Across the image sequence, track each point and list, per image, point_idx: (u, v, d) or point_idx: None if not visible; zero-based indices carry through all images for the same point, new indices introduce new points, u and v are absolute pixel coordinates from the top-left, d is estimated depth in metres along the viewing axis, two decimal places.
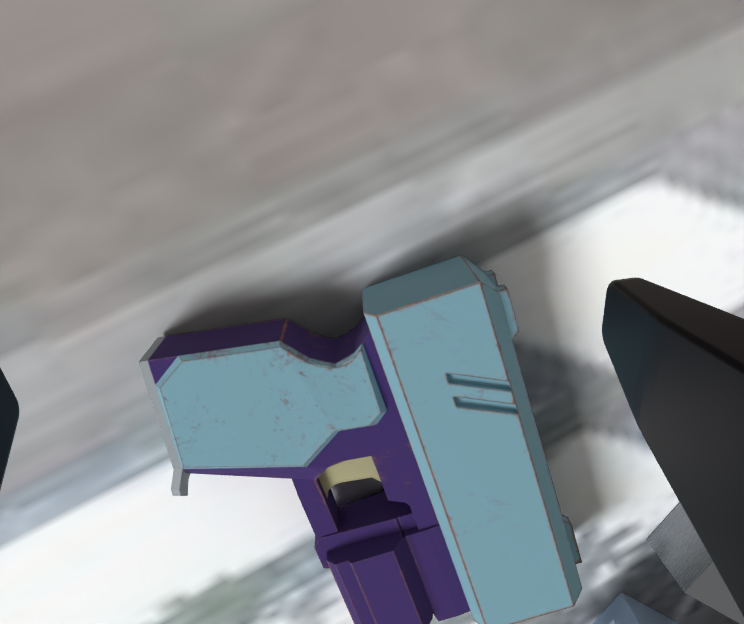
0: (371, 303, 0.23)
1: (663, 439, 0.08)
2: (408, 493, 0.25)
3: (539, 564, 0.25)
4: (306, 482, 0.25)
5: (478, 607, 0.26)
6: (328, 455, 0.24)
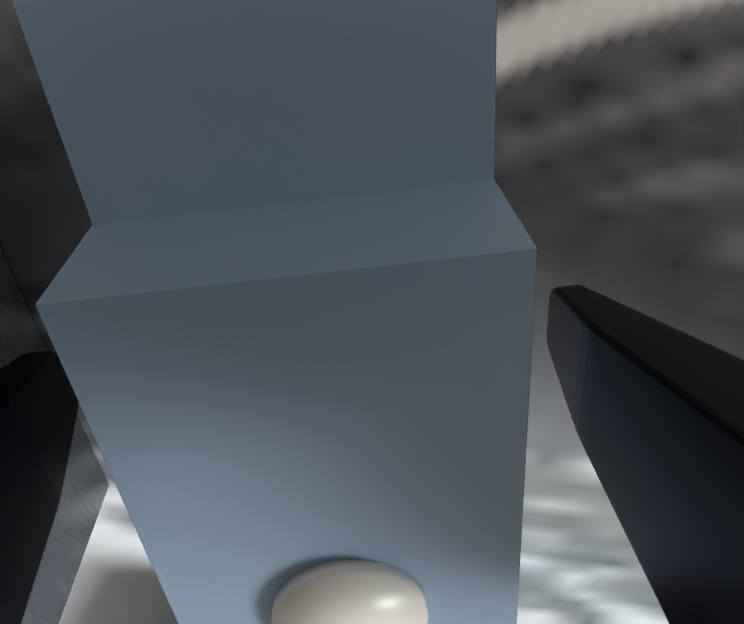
0: None
1: (599, 447, 0.08)
2: None
3: None
4: None
5: None
6: None
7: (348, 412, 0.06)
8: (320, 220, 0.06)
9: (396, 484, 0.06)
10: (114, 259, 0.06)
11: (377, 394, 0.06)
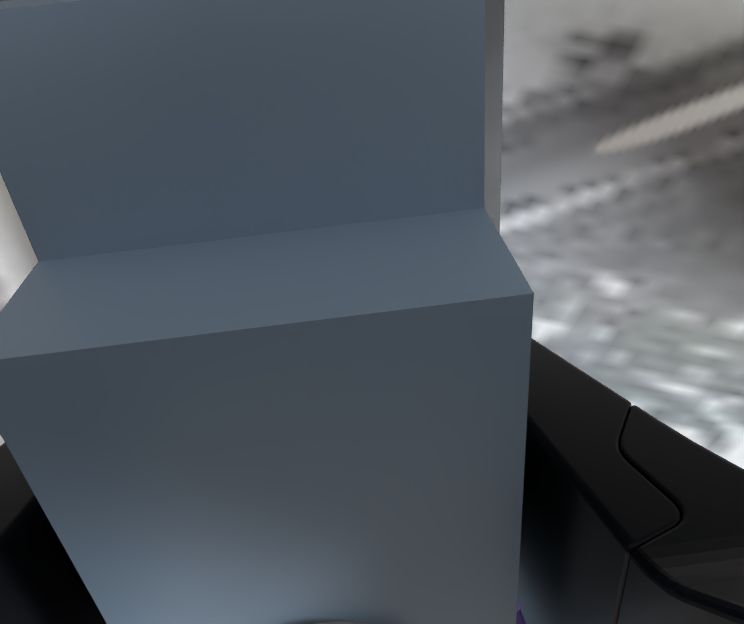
0: None
1: None
2: None
3: None
4: None
5: None
6: None
7: (324, 471, 0.05)
8: (291, 257, 0.05)
9: (379, 543, 0.06)
10: (58, 305, 0.05)
11: (356, 451, 0.05)
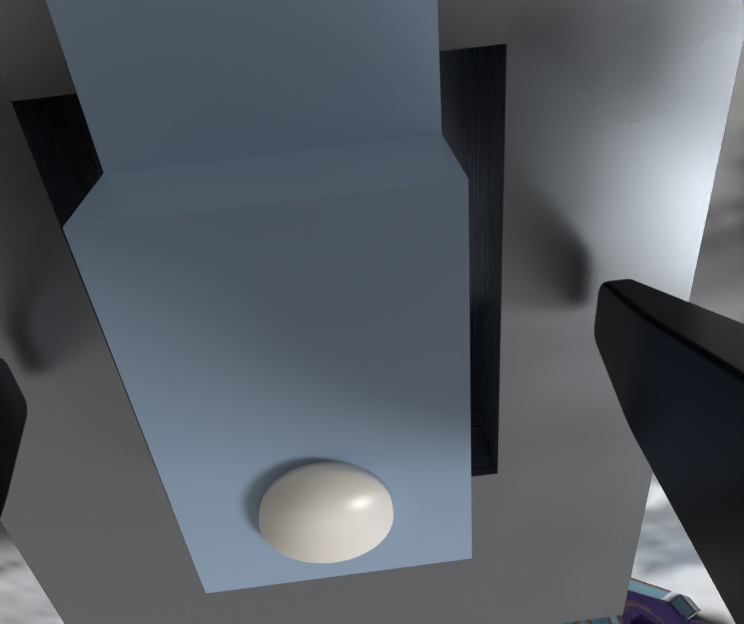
0: None
1: (654, 440, 0.08)
2: None
3: None
4: None
5: None
6: None
7: (320, 323, 0.07)
8: (295, 165, 0.07)
9: (362, 390, 0.08)
10: (124, 195, 0.07)
11: (343, 307, 0.07)
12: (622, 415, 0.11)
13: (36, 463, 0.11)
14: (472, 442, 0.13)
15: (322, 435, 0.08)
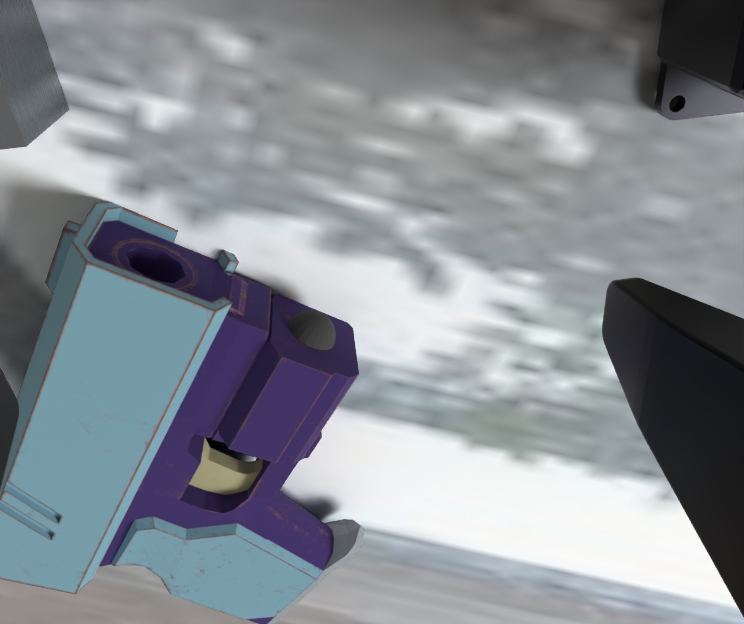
0: None
1: (663, 439, 0.08)
2: (177, 457, 0.23)
3: (92, 341, 0.19)
4: (257, 500, 0.25)
5: (201, 342, 0.19)
6: (212, 520, 0.25)
7: None
8: None
9: None
10: None
11: None
12: None
13: None
14: None
15: None
